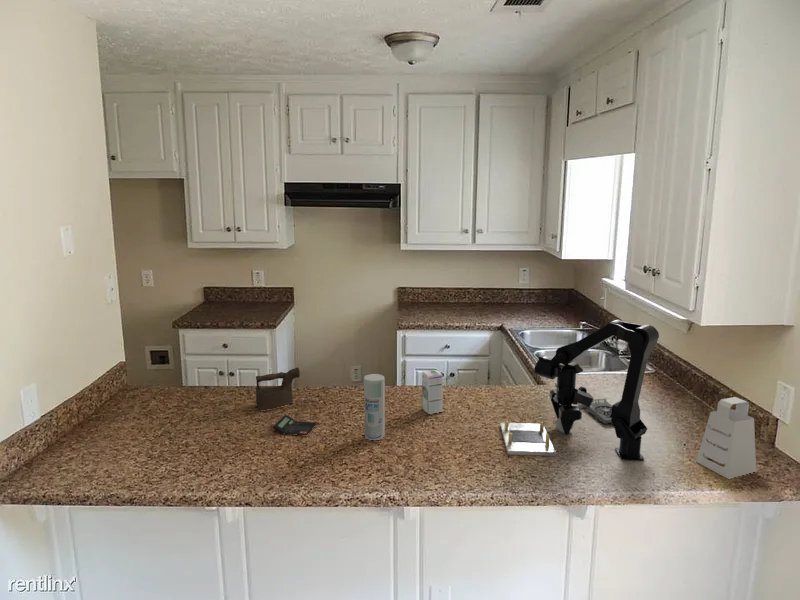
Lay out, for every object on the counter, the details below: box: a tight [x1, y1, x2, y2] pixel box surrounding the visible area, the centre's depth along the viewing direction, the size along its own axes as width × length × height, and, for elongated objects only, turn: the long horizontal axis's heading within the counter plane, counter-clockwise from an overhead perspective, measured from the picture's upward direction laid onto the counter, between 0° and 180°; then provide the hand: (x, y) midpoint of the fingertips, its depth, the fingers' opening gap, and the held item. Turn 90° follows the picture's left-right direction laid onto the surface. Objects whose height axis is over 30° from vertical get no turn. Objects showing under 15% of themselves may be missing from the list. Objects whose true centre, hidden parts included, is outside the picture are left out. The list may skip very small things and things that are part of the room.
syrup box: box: [421, 369, 443, 415], centre depth 190 cm, size 6×6×14 cm
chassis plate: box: [499, 419, 556, 457], centre depth 169 cm, size 20×14×4 cm
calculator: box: [272, 414, 317, 435], centre depth 177 cm, size 9×12×3 cm
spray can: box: [363, 373, 386, 441], centre depth 169 cm, size 6×6×20 cm
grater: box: [695, 396, 757, 480], centre depth 150 cm, size 10×10×20 cm
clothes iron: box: [255, 366, 301, 411], centre depth 196 cm, size 8×16×13 cm, turn 113°
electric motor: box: [552, 418, 575, 434], centre depth 174 cm, size 7×5×5 cm
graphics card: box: [576, 398, 613, 424], centre depth 187 cm, size 17×4×12 cm
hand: (563, 428), depth 175 cm, fingers open, 9 cm apart
